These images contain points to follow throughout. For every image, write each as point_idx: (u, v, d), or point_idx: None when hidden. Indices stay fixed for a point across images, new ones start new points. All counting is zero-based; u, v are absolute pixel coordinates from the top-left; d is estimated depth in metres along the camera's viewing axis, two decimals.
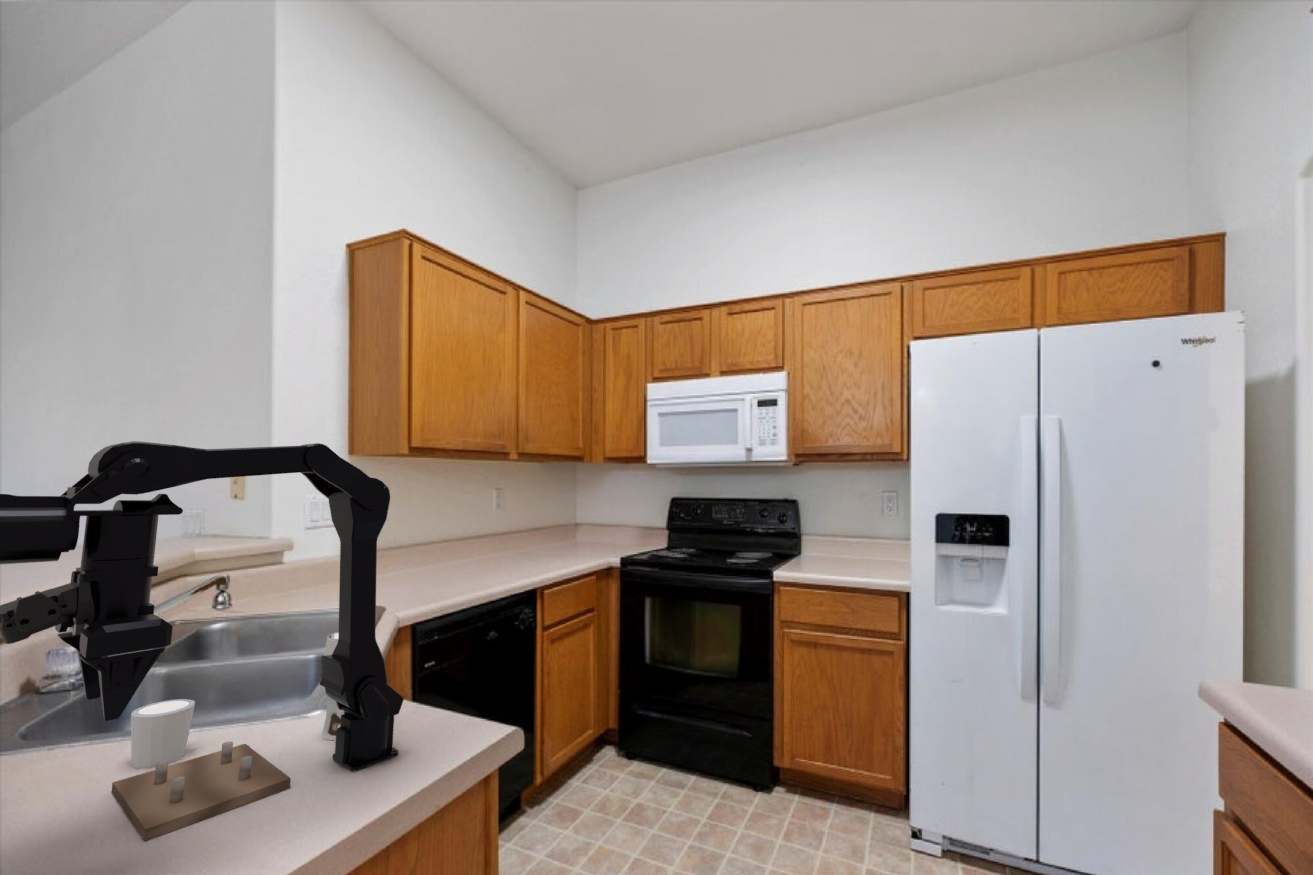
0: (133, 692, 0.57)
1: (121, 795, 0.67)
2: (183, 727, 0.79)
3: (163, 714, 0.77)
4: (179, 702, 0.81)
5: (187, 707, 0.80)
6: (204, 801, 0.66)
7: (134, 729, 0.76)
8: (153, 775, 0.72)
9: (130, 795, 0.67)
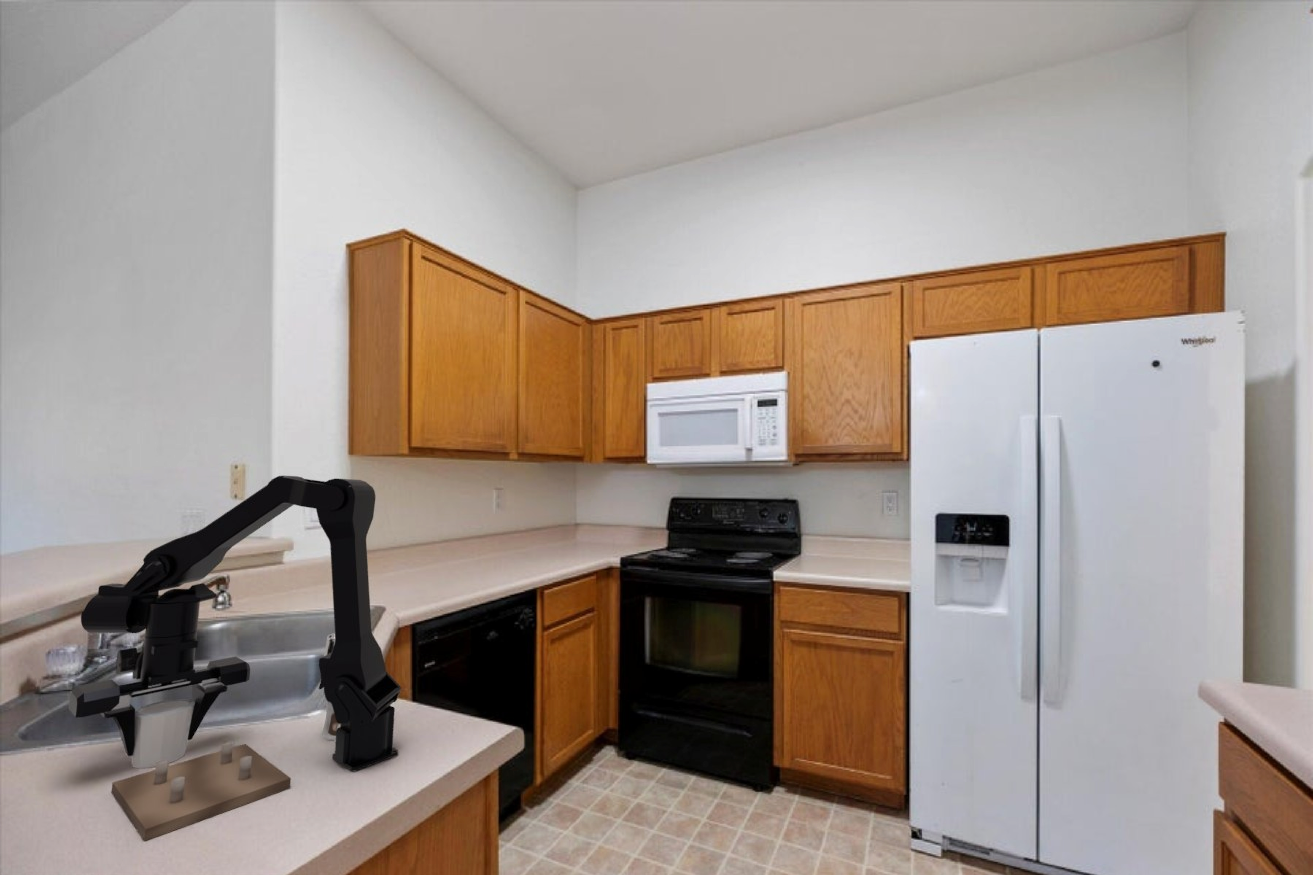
0: (124, 741, 0.75)
1: (121, 795, 0.67)
2: (183, 727, 0.79)
3: (163, 714, 0.77)
4: (179, 702, 0.81)
5: (187, 707, 0.80)
6: (204, 801, 0.66)
7: None
8: (153, 775, 0.72)
9: (130, 795, 0.67)
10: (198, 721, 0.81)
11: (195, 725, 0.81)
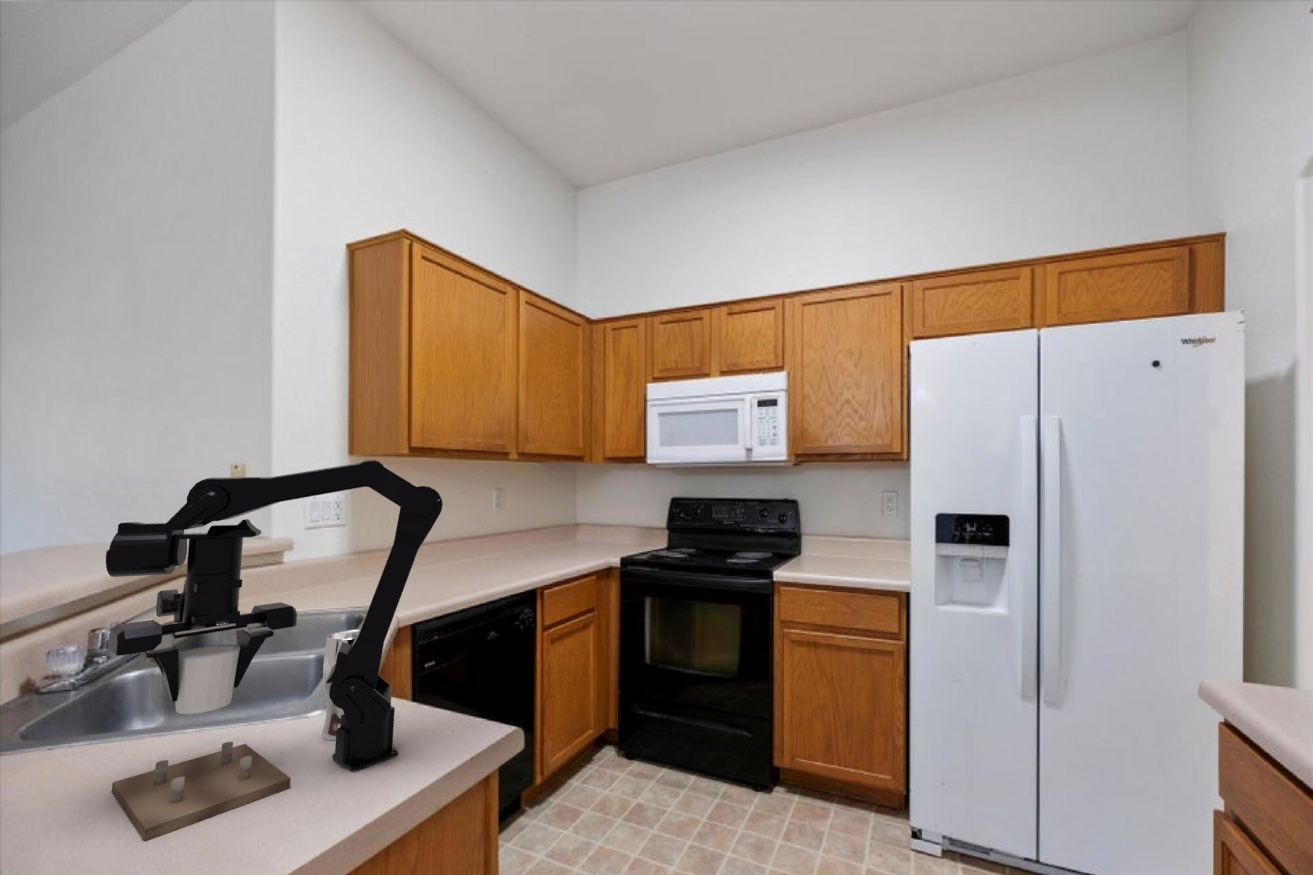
0: (168, 684, 0.69)
1: (121, 795, 0.67)
2: (229, 672, 0.73)
3: (208, 656, 0.71)
4: (223, 647, 0.76)
5: (232, 651, 0.74)
6: (204, 801, 0.66)
7: None
8: (153, 775, 0.72)
9: (130, 795, 0.67)
10: (244, 667, 0.75)
11: (241, 671, 0.75)
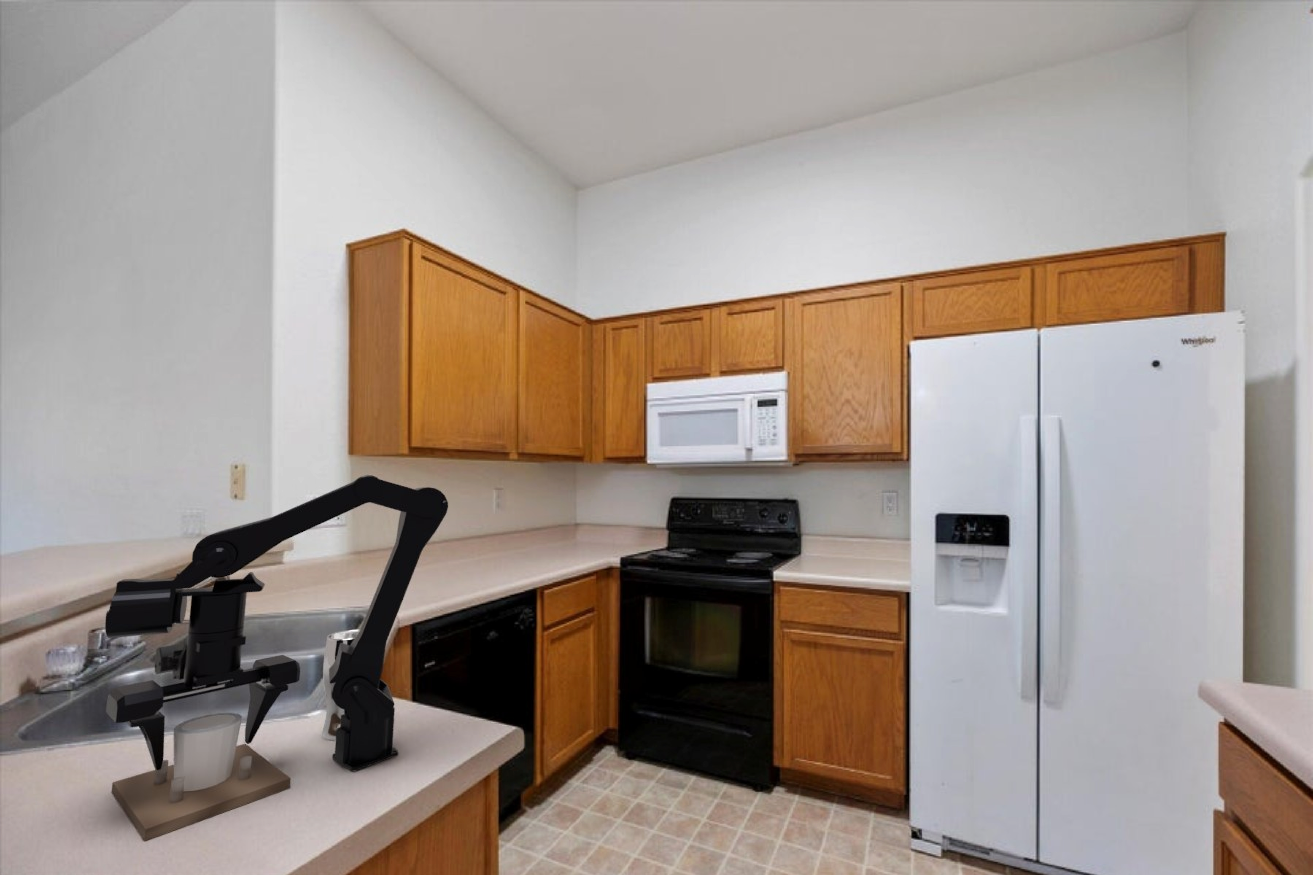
0: (152, 753, 0.66)
1: (121, 795, 0.67)
2: (229, 745, 0.71)
3: (209, 731, 0.69)
4: (225, 717, 0.73)
5: (234, 722, 0.72)
6: (204, 801, 0.66)
7: (177, 747, 0.68)
8: (153, 775, 0.72)
9: (130, 795, 0.67)
10: (258, 723, 0.74)
11: (255, 727, 0.74)
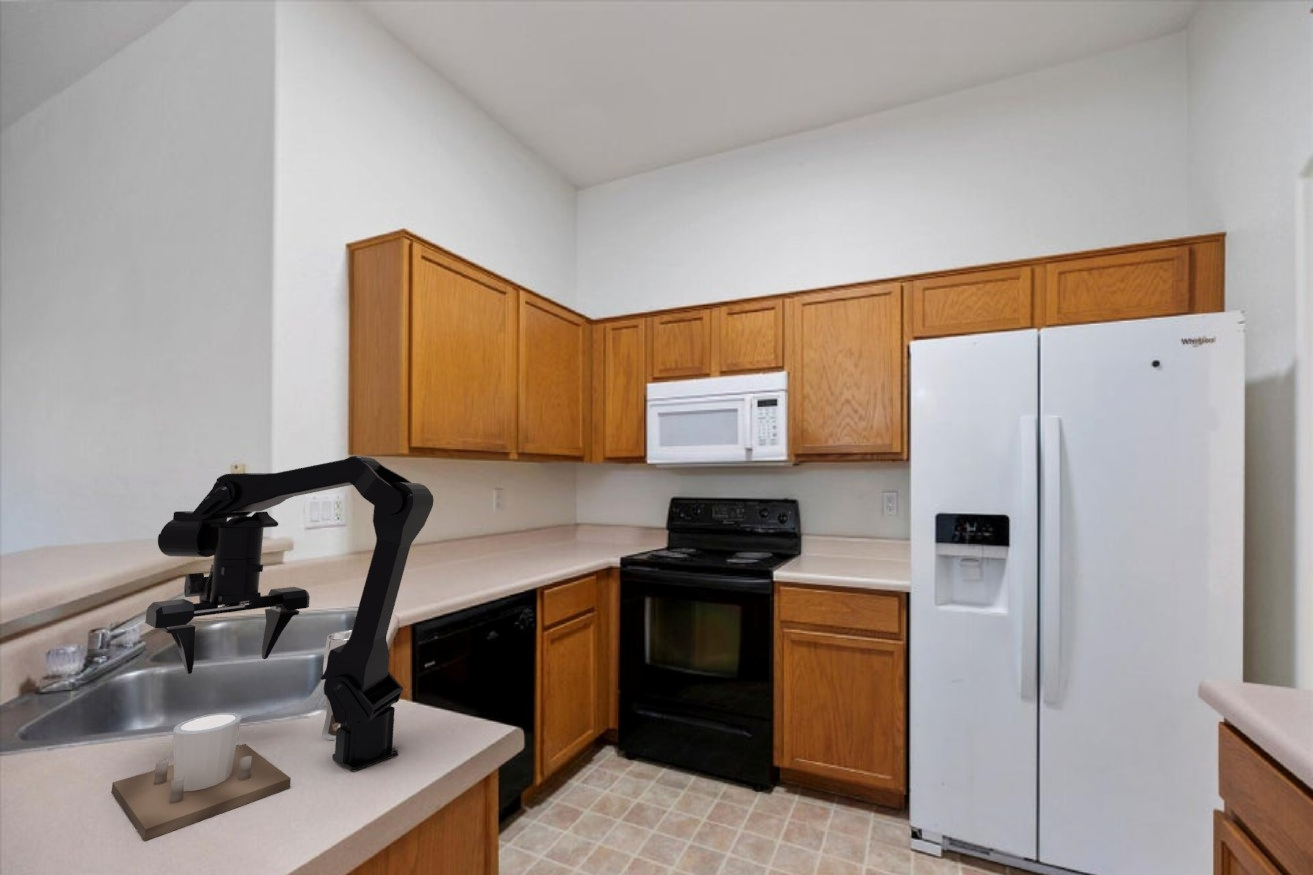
0: (185, 658, 0.77)
1: (121, 795, 0.67)
2: (229, 745, 0.71)
3: (208, 731, 0.69)
4: (224, 717, 0.73)
5: (233, 722, 0.71)
6: (204, 801, 0.66)
7: (177, 747, 0.68)
8: (153, 775, 0.72)
9: (130, 795, 0.67)
10: (273, 641, 0.86)
11: (270, 645, 0.86)
